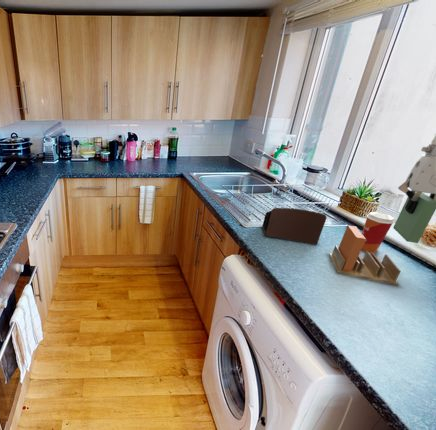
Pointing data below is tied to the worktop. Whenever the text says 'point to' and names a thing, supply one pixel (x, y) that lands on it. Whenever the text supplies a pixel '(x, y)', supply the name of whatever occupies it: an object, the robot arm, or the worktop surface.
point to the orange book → (351, 246)
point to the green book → (415, 219)
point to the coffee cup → (375, 230)
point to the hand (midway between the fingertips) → (416, 212)
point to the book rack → (368, 267)
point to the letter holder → (294, 224)
